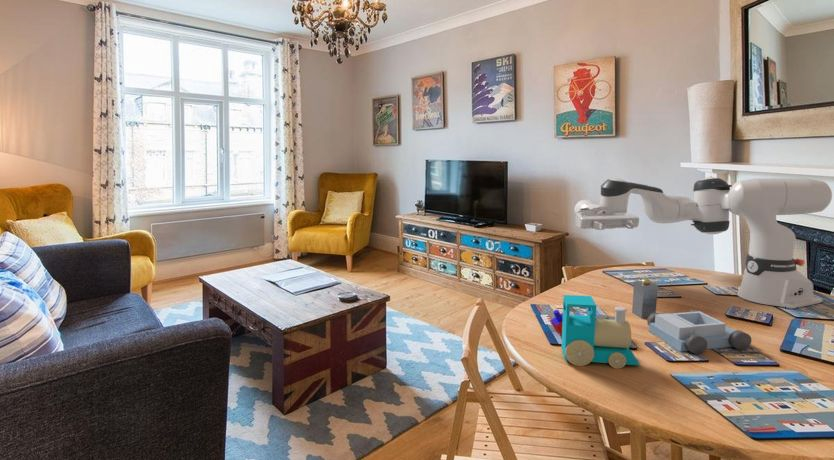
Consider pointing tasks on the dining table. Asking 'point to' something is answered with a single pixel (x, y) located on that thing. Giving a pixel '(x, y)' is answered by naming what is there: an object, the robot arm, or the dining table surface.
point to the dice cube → (605, 317)
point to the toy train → (595, 335)
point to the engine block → (644, 298)
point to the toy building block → (557, 321)
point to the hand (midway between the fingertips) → (617, 226)
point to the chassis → (696, 332)
